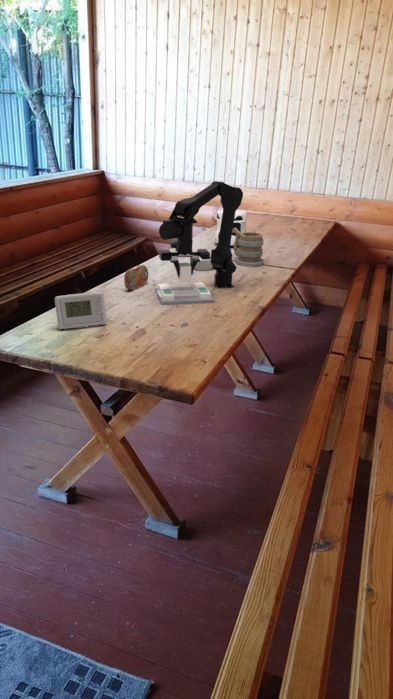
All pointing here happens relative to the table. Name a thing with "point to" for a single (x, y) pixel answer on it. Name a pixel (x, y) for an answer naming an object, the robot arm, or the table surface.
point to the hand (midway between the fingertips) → (184, 276)
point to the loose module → (184, 272)
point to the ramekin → (204, 264)
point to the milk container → (238, 223)
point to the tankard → (248, 248)
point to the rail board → (183, 294)
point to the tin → (136, 277)
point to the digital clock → (80, 310)
